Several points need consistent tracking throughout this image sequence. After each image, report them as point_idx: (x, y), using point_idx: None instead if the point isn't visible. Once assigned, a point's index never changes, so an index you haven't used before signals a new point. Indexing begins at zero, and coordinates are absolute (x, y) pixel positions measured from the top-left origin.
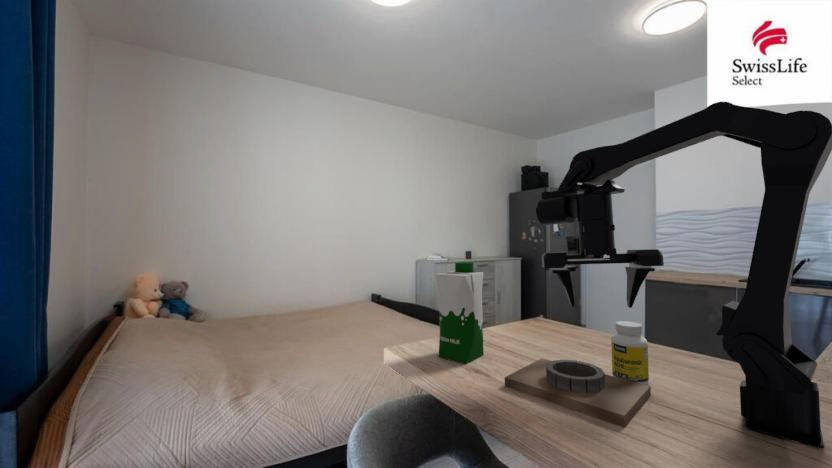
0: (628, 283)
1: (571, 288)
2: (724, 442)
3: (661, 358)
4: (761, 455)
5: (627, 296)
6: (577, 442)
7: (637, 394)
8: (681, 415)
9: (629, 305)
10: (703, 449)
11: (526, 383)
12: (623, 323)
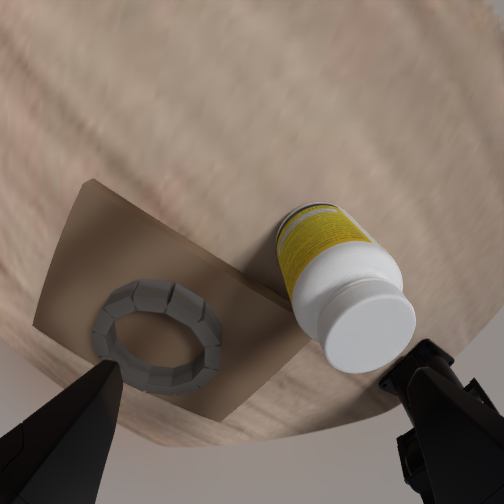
0: (480, 469)
1: (89, 499)
2: (325, 411)
3: (461, 74)
4: (343, 420)
5: (439, 413)
6: (157, 431)
7: (271, 369)
8: (321, 371)
9: (409, 399)
10: (291, 426)
11: (72, 348)
12: (355, 339)
